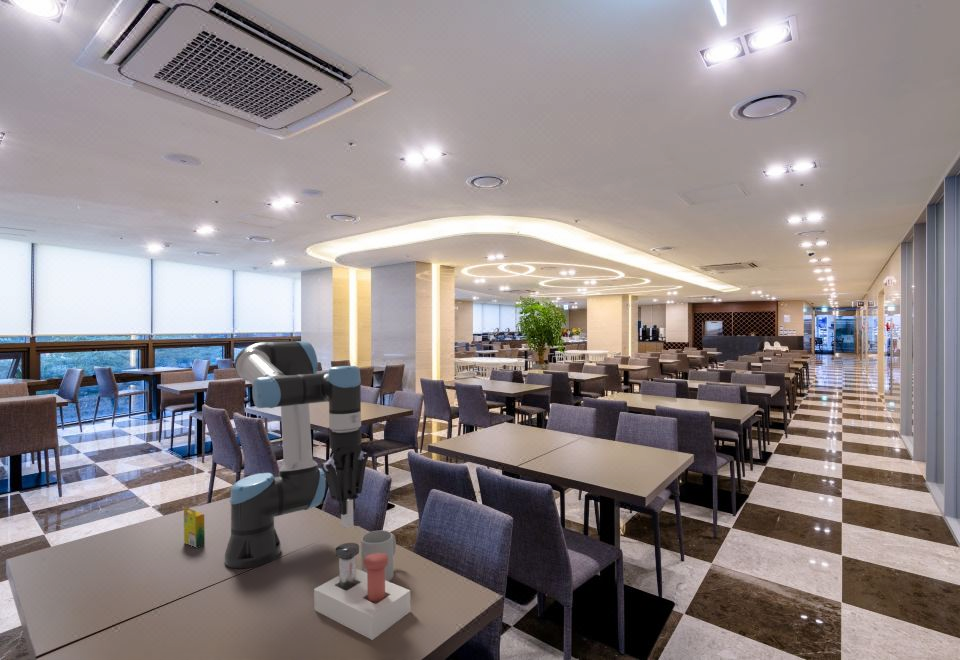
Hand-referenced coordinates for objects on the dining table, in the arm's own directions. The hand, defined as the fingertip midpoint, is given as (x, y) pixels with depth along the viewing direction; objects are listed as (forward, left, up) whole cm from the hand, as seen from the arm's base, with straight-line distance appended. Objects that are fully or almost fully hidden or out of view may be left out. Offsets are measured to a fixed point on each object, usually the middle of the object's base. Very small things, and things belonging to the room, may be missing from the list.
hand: (347, 525), depth 112 cm
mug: (-4, +14, -19) cm, 24 cm away
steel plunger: (0, 0, -15) cm, 15 cm away
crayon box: (-68, -5, -19) cm, 71 cm away
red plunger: (+10, 0, -15) cm, 18 cm away
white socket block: (+5, 0, -19) cm, 20 cm away
